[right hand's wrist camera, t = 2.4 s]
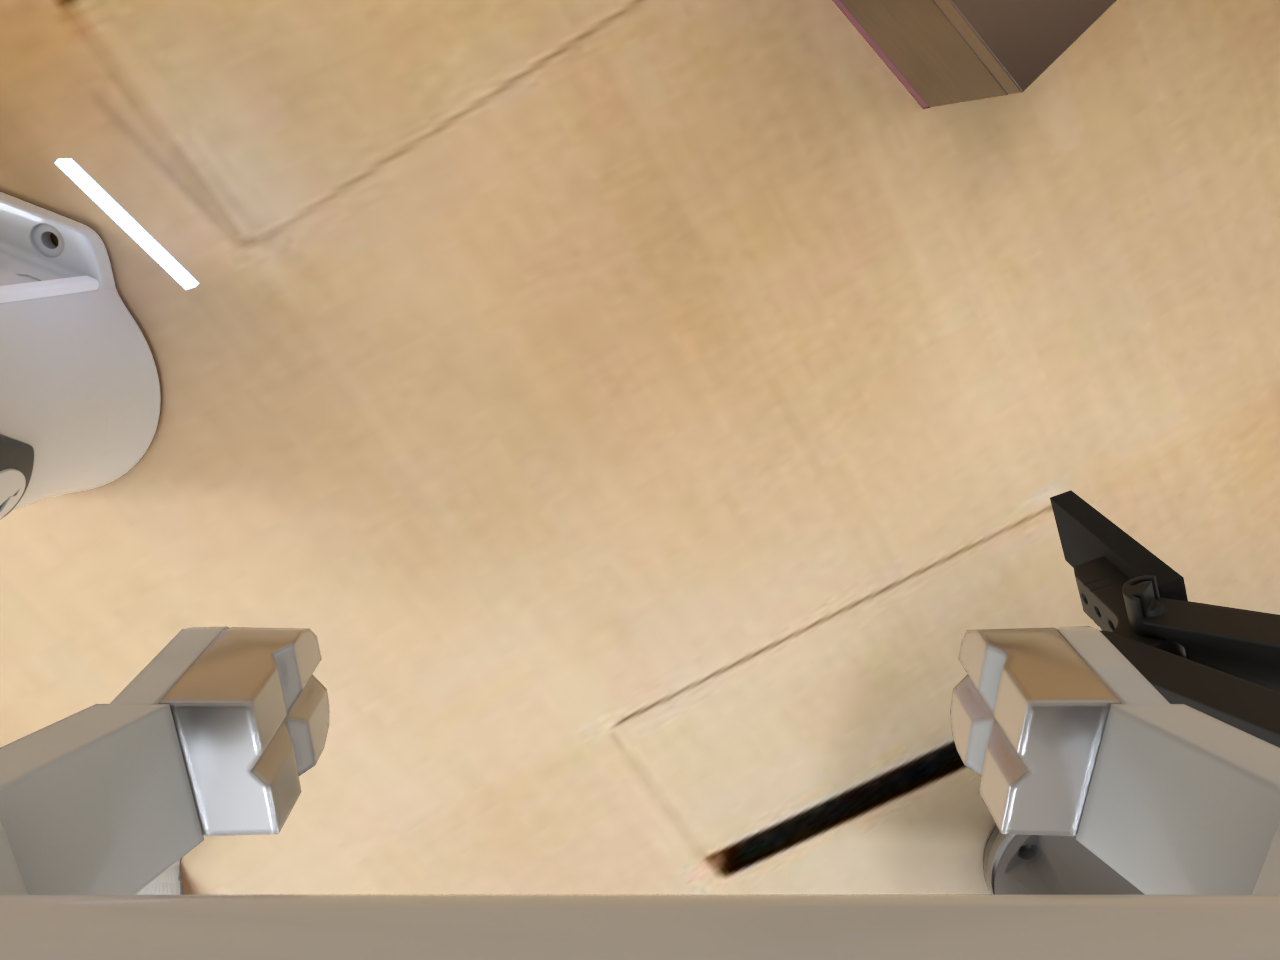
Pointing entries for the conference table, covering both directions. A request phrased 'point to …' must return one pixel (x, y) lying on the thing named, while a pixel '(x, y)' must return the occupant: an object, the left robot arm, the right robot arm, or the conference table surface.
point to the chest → (923, 50)
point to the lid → (1021, 33)
